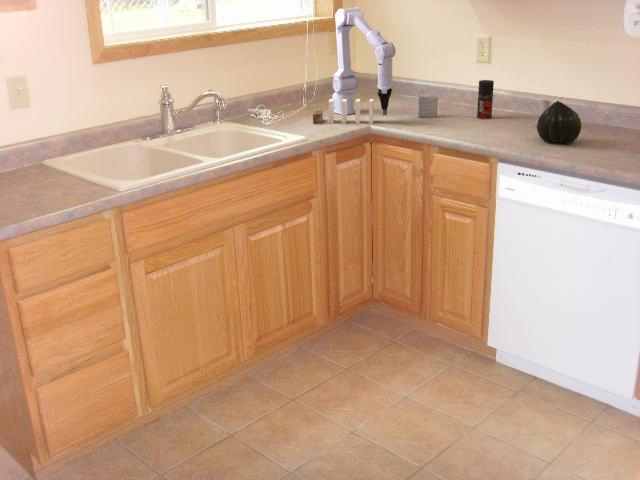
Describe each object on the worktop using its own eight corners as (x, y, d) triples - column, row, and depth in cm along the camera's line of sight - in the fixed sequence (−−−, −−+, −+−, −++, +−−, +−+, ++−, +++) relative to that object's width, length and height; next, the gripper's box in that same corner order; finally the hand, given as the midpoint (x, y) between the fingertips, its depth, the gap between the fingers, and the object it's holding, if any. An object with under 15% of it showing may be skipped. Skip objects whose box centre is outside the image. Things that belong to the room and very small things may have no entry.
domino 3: (355, 123, 304) (355, 101, 301) (356, 120, 309) (356, 99, 306) (359, 123, 304) (359, 101, 301) (360, 120, 309) (360, 98, 305)
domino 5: (382, 115, 302) (382, 93, 298) (383, 112, 306) (383, 90, 303) (386, 115, 302) (386, 93, 298) (387, 112, 306) (387, 90, 303)
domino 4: (368, 123, 304) (369, 101, 300) (369, 120, 308) (369, 99, 305) (372, 123, 304) (372, 101, 300) (373, 120, 308) (373, 98, 305)
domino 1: (328, 123, 306) (328, 101, 302) (330, 120, 310) (329, 99, 307) (332, 123, 306) (332, 101, 302) (334, 120, 310) (333, 99, 307)
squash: (572, 134, 255) (581, 97, 259) (529, 132, 263) (539, 95, 267) (578, 154, 267) (587, 118, 271) (537, 151, 275) (546, 115, 279)
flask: (555, 124, 293) (557, 99, 290) (552, 128, 287) (554, 103, 284) (536, 123, 296) (538, 98, 293) (533, 127, 290) (535, 102, 286)
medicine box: (436, 115, 315) (437, 94, 311) (437, 117, 310) (437, 97, 307) (417, 115, 315) (418, 95, 312) (418, 117, 311) (418, 97, 308)
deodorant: (475, 118, 307) (477, 82, 301) (478, 115, 312) (480, 79, 306) (490, 119, 305) (492, 82, 299) (492, 116, 310) (495, 80, 304)
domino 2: (342, 123, 305) (341, 101, 302) (343, 120, 310) (343, 99, 306) (346, 123, 305) (345, 101, 302) (347, 120, 309) (346, 99, 306)
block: (313, 123, 305) (312, 114, 304) (315, 119, 312) (315, 110, 311) (320, 123, 305) (320, 114, 303) (322, 119, 312) (322, 110, 311)
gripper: (394, 77, 291) (394, 111, 296) (395, 71, 304) (395, 104, 309) (376, 77, 292) (376, 111, 297) (378, 71, 305) (378, 104, 310)
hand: (384, 108), depth 303 cm, fingers closed on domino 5, 5 cm apart
